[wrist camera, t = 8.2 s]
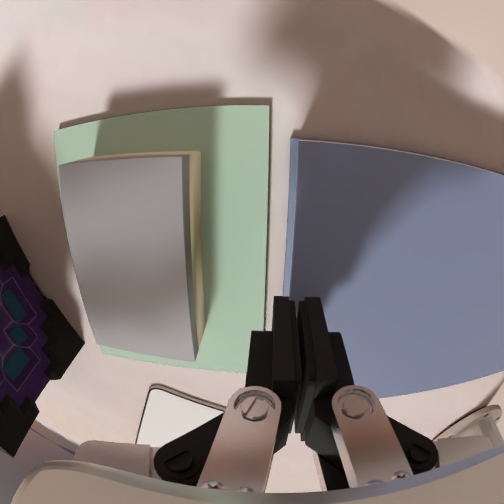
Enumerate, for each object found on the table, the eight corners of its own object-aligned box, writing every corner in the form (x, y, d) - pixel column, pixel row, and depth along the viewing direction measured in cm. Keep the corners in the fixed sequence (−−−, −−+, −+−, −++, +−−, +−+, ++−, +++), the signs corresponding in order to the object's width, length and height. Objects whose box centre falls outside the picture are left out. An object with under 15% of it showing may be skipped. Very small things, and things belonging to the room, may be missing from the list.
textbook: (486, 338, 17) (508, 368, 13) (277, 354, 18) (278, 403, 14) (535, 185, 11) (572, 202, 8) (290, 138, 12) (299, 140, 9)
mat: (261, 369, 18) (261, 373, 18) (105, 350, 19) (103, 353, 19) (269, 106, 12) (269, 105, 11) (58, 130, 12) (54, 130, 12)
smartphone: (236, 414, 20) (192, 468, 26) (237, 404, 21) (193, 461, 27) (149, 384, 20) (133, 448, 25) (153, 374, 21) (136, 441, 26)
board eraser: (97, 344, 14) (117, 315, 17) (195, 362, 14) (205, 327, 17) (58, 165, 10) (93, 156, 13) (181, 156, 10) (201, 150, 12)
